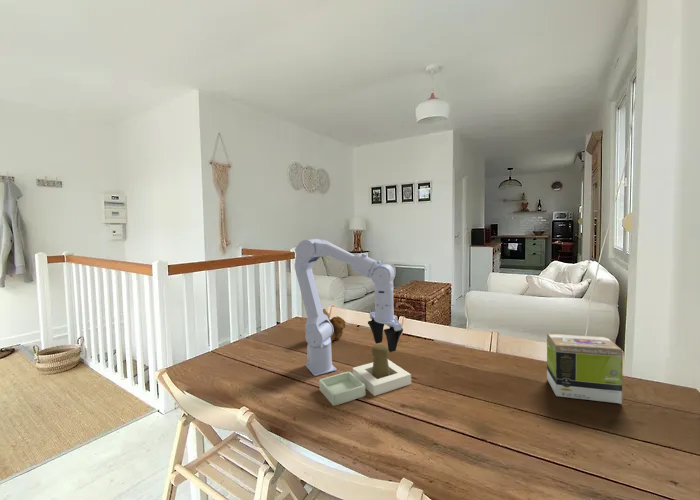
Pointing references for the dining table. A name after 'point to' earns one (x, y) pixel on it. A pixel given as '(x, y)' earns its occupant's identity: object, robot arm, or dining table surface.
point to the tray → (342, 388)
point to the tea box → (585, 367)
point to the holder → (383, 384)
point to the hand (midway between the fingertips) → (385, 346)
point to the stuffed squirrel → (336, 326)
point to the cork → (380, 361)
